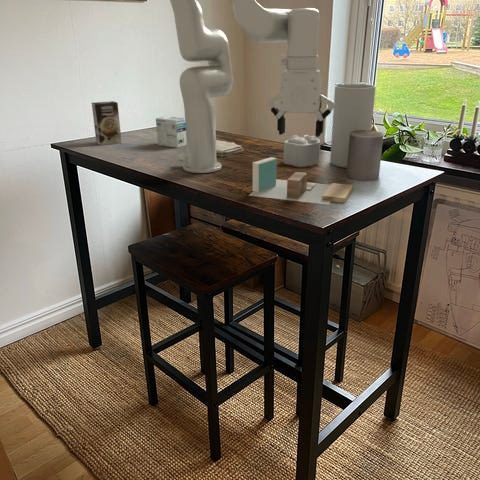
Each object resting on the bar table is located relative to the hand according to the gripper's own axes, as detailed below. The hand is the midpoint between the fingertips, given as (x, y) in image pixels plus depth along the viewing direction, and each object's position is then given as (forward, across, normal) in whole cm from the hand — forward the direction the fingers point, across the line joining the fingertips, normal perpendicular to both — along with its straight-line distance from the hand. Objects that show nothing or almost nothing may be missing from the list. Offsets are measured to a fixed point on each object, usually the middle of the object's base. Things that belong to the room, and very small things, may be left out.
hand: (299, 134), depth 123 cm
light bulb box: (+16, -64, +45) cm, 80 cm away
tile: (+16, -10, +2) cm, 19 cm away
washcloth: (+17, -43, +42) cm, 62 cm away
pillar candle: (+17, +14, +23) cm, 31 cm away
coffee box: (+16, -91, +40) cm, 101 cm away
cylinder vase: (+17, +7, +39) cm, 43 cm away
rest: (+17, +10, +3) cm, 20 cm away
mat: (+17, -1, +3) cm, 17 cm away
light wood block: (+16, 0, +3) cm, 16 cm away
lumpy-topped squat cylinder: (+17, -8, +37) cm, 41 cm away
